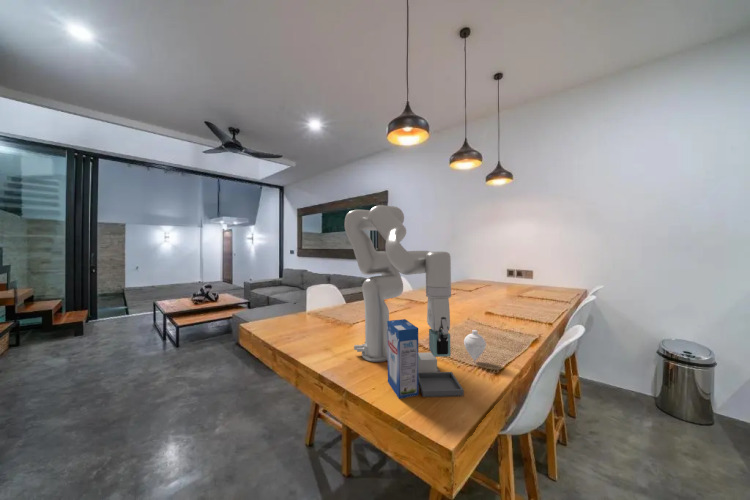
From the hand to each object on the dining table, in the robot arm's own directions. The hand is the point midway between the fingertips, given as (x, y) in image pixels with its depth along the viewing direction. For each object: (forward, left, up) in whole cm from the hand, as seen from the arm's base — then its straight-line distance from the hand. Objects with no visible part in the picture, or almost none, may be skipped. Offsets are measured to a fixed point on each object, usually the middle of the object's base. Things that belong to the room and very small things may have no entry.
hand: (439, 349), depth 84 cm
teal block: (0, 0, -1) cm, 1 cm away
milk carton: (-12, 0, -12) cm, 17 cm away
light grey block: (-2, +12, -12) cm, 17 cm away
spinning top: (+18, +16, -12) cm, 27 cm away
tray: (0, 0, -12) cm, 12 cm away
